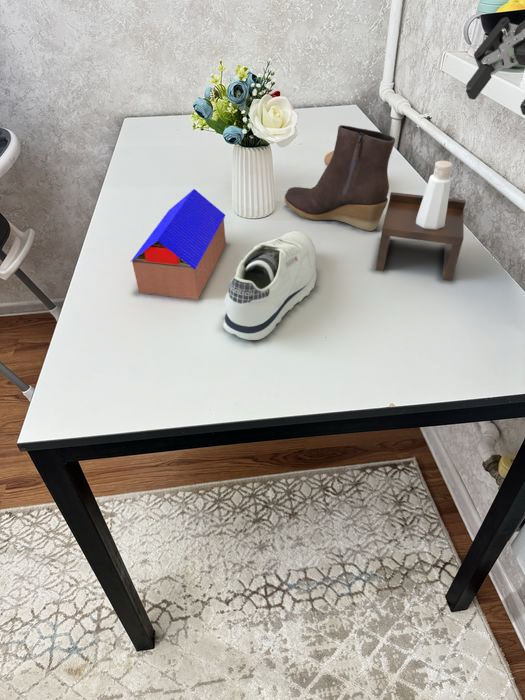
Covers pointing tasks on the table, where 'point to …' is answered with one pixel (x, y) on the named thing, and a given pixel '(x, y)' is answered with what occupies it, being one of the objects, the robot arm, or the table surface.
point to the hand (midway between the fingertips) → (495, 103)
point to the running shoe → (269, 285)
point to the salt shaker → (435, 198)
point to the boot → (349, 181)
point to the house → (181, 249)
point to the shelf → (404, 226)
